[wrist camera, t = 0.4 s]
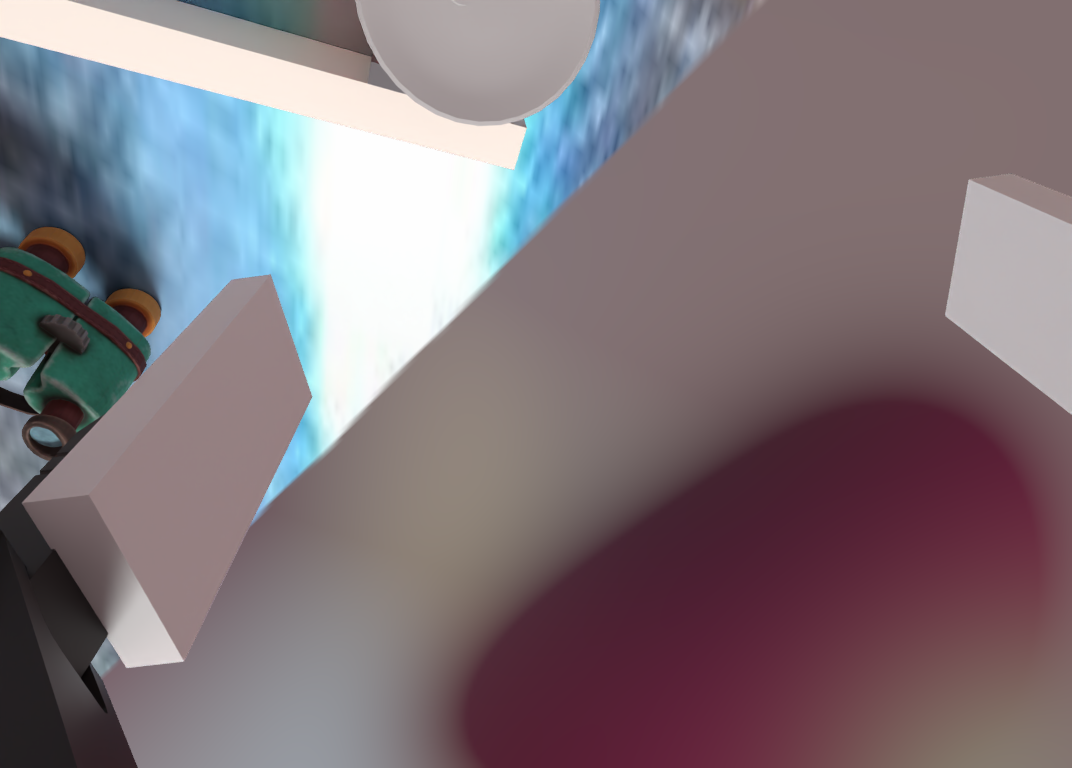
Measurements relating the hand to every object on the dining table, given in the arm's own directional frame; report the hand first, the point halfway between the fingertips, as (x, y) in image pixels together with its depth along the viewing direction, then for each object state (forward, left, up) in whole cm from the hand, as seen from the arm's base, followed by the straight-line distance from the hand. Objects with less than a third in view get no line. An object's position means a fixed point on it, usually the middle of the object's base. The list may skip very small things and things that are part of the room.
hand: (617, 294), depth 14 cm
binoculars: (+21, -20, -24) cm, 38 cm away
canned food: (-2, -3, -24) cm, 24 cm away
